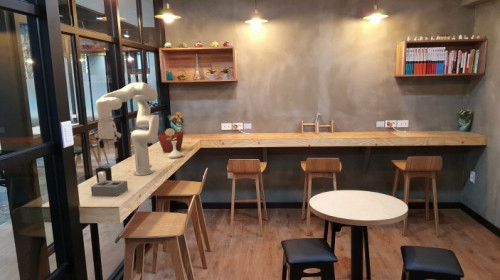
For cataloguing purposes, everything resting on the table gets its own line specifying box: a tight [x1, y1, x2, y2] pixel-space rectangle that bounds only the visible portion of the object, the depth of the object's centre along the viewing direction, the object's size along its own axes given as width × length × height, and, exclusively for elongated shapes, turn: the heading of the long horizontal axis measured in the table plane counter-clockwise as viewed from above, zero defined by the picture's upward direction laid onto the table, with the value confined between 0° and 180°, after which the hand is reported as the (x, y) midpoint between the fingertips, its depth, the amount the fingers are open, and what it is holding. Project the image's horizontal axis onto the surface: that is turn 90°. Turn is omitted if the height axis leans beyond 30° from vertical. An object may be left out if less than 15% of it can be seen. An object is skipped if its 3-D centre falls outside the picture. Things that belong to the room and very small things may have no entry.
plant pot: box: [157, 131, 184, 153], centre depth 313 cm, size 19×19×17 cm
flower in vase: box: [164, 128, 183, 159], centre depth 287 cm, size 13×11×25 cm
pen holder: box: [94, 166, 113, 184], centre depth 221 cm, size 9×9×10 cm
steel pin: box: [98, 171, 107, 185], centre depth 202 cm, size 4×4×11 cm
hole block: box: [90, 180, 129, 197], centre depth 202 cm, size 12×16×6 cm
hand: (109, 147), depth 206 cm, fingers open, 9 cm apart
